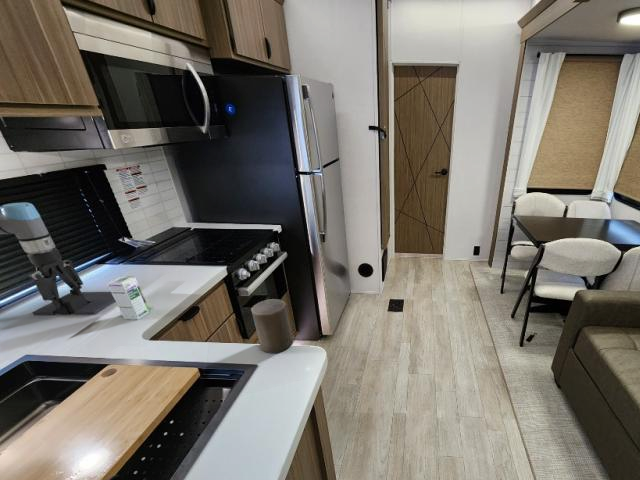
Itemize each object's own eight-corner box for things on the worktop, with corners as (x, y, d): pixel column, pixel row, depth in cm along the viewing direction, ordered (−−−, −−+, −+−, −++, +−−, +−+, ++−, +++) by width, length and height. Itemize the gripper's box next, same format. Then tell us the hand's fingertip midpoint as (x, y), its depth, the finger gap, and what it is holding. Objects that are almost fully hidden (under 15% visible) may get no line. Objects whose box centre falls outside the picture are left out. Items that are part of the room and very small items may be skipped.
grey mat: (35, 318, 119) (32, 312, 118) (73, 297, 133) (70, 292, 132) (96, 317, 119) (93, 311, 118) (128, 296, 133) (125, 291, 132)
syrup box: (138, 320, 118) (122, 283, 111) (123, 319, 118) (106, 282, 111) (150, 311, 123) (135, 276, 116) (136, 311, 123) (120, 275, 116)
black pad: (59, 314, 120) (52, 302, 117) (73, 306, 125) (67, 294, 123) (76, 314, 120) (69, 302, 117) (89, 306, 125) (83, 294, 123)
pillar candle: (295, 348, 102) (286, 306, 94) (261, 357, 98) (250, 313, 91) (291, 332, 109) (283, 292, 102) (259, 339, 106) (249, 298, 99)
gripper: (24, 260, 103) (61, 323, 114) (76, 241, 120) (104, 297, 131) (0, 260, 103) (40, 323, 114) (56, 241, 120) (85, 297, 131)
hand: (74, 309), depth 122 cm, fingers closed on black pad, 6 cm apart
